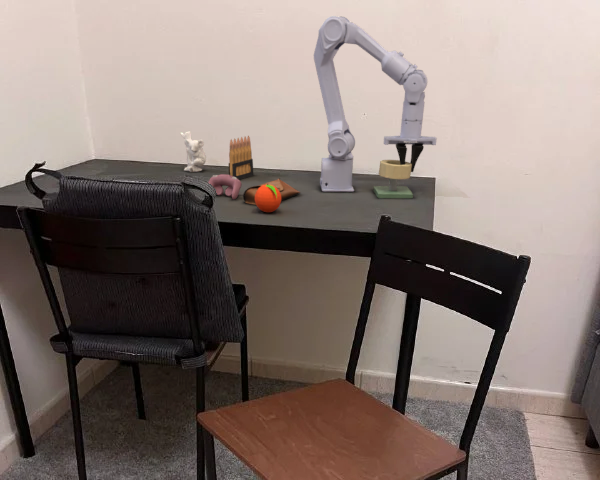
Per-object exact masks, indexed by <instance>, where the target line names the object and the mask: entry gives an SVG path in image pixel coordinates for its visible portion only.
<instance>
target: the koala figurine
mask: <svg viewBox="0 0 600 480" xmlns="http://www.w3.org/2000/svg"><path fill="white" fill-rule="evenodd" d="M179 134H180V136H181V137H182V138H183V139H184V145H185V148H186V163H187V164H186V166H185V167H184V169H183V171H187V172H189V173H195V172H197V173H198V172H202V171H203V169H202V168H201V167H203V166H205V164H206V161H207V155H206V152H205V150H204V149H203V147H204V145H205V142H204V140H203V139H198V140H197V139H192V132H191V131H190V130H188V131H185V132H184V133H183V132H182V131H181V132H180V133H179Z"/></svg>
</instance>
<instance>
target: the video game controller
mask: <svg viewBox="0 0 600 480" xmlns="http://www.w3.org/2000/svg"><path fill="white" fill-rule="evenodd" d="M208 183H209V184H211V185H212V186H213V187H214V188H215V189H216V193H217V194H216V193H215V194H216V195H217V196H220V197H221V196H222V195H224V193H225V195H226V196H227V197H231V199H232V200H236V199H237V198H238V196H239V194H240V190H241V188H242V181H241V179H239V180H238V179H237V178H236V177H234V176H231V175H229V174H225V173H220V174H213V175H212V176H211V177H210V178H209V179H208V181H207V184H208ZM224 187H226V188H225V191H224Z"/></svg>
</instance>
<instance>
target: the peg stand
mask: <svg viewBox="0 0 600 480" xmlns="http://www.w3.org/2000/svg"><path fill="white" fill-rule="evenodd" d="M398 180H399V179H391V178H389V185H373V187H372V191H373V192H374V194H375V195H376V197H377V199H413V198H414V194H413V192H412V191H411V189H410V188H408V186H406V185H398Z"/></svg>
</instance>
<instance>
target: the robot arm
mask: <svg viewBox="0 0 600 480" xmlns="http://www.w3.org/2000/svg"><path fill="white" fill-rule="evenodd" d="M344 44H349V45H355V46H356V45H357V46H358V47H359V48H360V49H362V50H363V51H365V52H366V53H367V54H368V55H370V56H371V57H372V58H374V59H375V60H376V61H378V62H379V63H380V66H381V71H382V72H383V73H385V75H387V76H388V77H389V78H390V79H391V80H393V81H394V82H395V83H396V84H398V85H399V86H402V87H403V90H404V97H403V98H404V99H403V102H402V114H401V124H400V132H399V135H389V136H388V135H384V136H383V145H385V146H387V145H388V146H389V145H395V148H396V151H397V154H398V155H397V156H398V160H400V165H405V161H406V157H407V152H408V147H407V145H411V154H410V162H409V163H411V164H412V168H411V173H414V170H415V167H416V164H417V161H418V159H419V157H420V156H421V154H422V152H423V151H424V146H426V145H427V146H429V145H431V146H436V145H437V139H438V138H437V137H436V136H425V135H422V129H423V122H424V121H423V119H424V111H425V98H426V91H425V90H426V88H427V87H428V77H427V74H426V73H425V72H424V70H422V69H417V68H418V65H417V64H416V63H414V64H413V63H411V62H410V61H408V59H406V58H405V57H404V53H403V52H402V51H401V50H400V51H397V50H391V51H388V50H387V49H386V48H385V47H384V46H382V45H381V44H380V43H379V42H378V41H377V40H376V39H375V38H373V36H371V35H370V34H369V33H368V32H366V31H365V29H364V28H362V27H361V26H359V25H358V24H357V23H354V22H353V21H350V19H348V18H347V17H345V16H338V15H337V16H336V15H331V16H328V17H327V18H326V19H325V20H324V21H323V23H322V25H321V26H320V27H319V29H318V36H317V41H316V44H315V48H314V50H313V51H314V52H313V61H314V65H315V66H314V67H315V70H316V75H317V79H318V84H319V89H320V92H321V97H322V101H323V102H322V103H323V106H324V111H325V116H326V120H327V125H328V128H327V136H328V143H327V151H328V157H322V158H321V161H320V163H321V164H320V165H321V166H320V169H321V170H320V178H319V185H320V189H321V192H328V193H329V192H331V193H333V192H336V193H337V192H340V193H341V192H351V193H352V192H353V193H354V192H355V189H354V187H353V172H354V171H353V170H354V169H353V168H354V155H353V152H352V151H353V150H354V149H355V146H356V138H355V135H354V134H353V133H352V132H351V130H350V126H349V123H348V122H347V119H346V115H345V111H344V106H343V100H342V97H341V92H340V86H339V81H338V77H337V74H336V73H337V72H336V68H335V63H334V59H335V57H336V55H337V53H338V51H339V50H340V48H341V47H342V46H344Z"/></svg>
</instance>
